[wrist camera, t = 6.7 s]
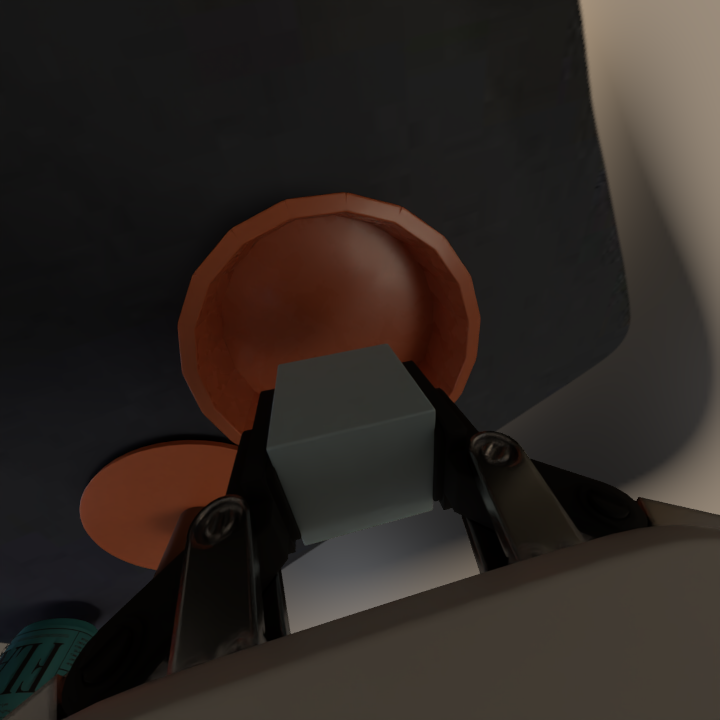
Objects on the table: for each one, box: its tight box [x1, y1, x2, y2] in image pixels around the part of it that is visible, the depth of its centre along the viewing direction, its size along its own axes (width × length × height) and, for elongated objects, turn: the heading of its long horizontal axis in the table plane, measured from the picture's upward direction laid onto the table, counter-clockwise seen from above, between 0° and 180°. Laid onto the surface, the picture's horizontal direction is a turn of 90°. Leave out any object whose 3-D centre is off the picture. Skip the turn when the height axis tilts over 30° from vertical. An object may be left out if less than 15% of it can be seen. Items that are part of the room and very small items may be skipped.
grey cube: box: [266, 344, 436, 545], centre depth 9 cm, size 4×4×4 cm
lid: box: [80, 440, 238, 578], centre depth 20 cm, size 16×16×7 cm
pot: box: [178, 192, 480, 445], centre depth 16 cm, size 15×15×5 cm
